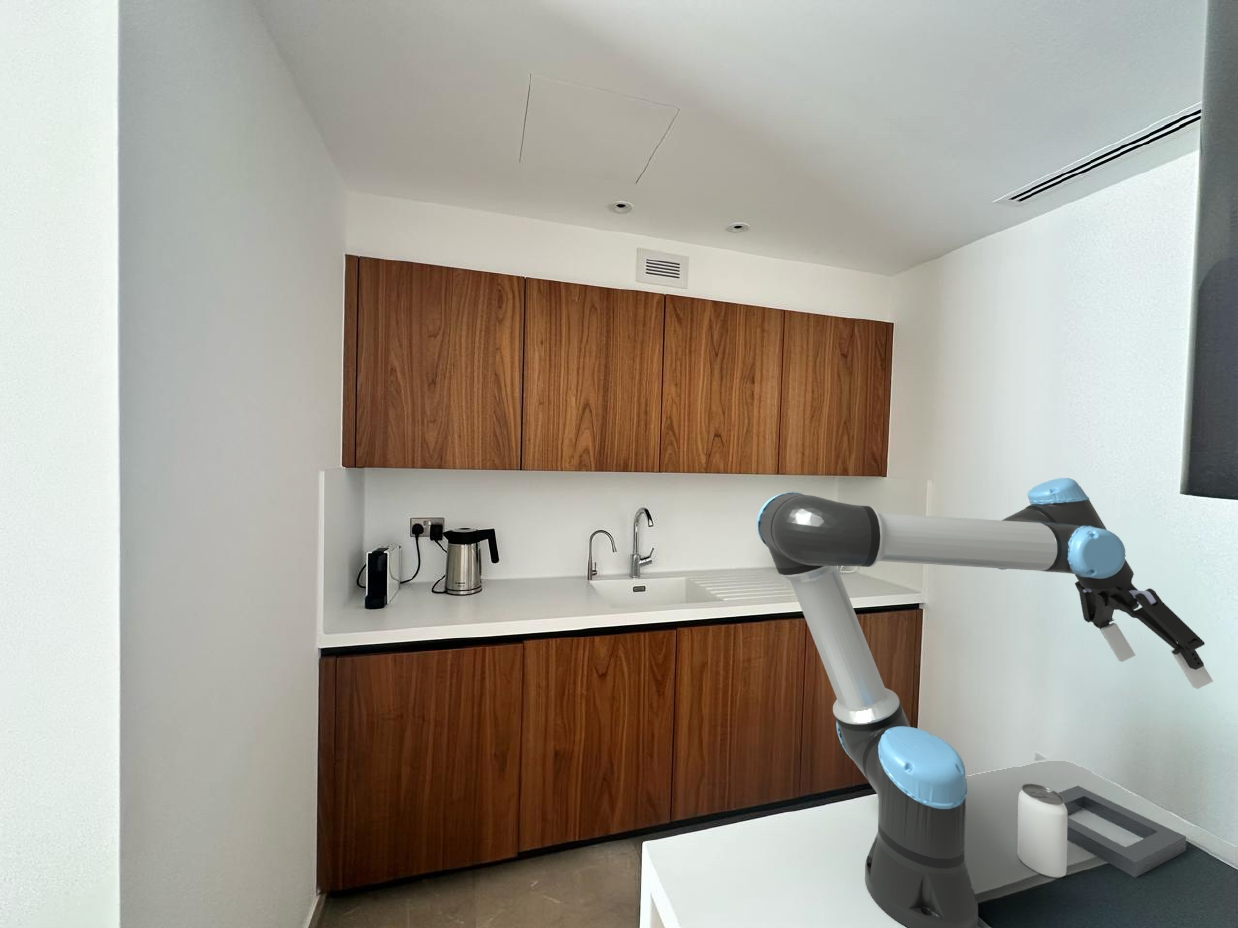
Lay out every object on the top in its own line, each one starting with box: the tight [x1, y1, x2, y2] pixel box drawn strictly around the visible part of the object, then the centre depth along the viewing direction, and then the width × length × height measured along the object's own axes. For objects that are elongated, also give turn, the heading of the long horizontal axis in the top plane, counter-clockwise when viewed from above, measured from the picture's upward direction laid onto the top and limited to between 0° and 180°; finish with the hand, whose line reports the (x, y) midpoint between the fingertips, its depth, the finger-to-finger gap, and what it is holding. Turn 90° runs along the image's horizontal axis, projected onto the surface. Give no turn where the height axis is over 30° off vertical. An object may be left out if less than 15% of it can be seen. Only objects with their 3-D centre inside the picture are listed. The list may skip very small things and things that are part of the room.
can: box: [1017, 783, 1068, 879], centre depth 88 cm, size 6×6×12 cm
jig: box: [1057, 785, 1187, 878], centre depth 97 cm, size 17×16×2 cm
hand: (1162, 670), depth 91 cm, fingers open, 13 cm apart
